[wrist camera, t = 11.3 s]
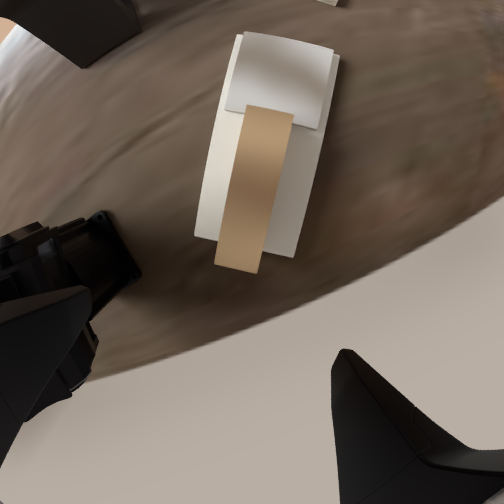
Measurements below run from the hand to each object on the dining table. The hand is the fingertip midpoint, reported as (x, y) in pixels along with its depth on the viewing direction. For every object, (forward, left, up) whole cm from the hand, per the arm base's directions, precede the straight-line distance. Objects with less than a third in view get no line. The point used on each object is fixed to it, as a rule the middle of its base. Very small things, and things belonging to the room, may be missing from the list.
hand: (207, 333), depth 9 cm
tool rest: (+5, -5, -12) cm, 14 cm away
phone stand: (+23, +2, -12) cm, 26 cm away
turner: (+5, -5, -11) cm, 13 cm away
